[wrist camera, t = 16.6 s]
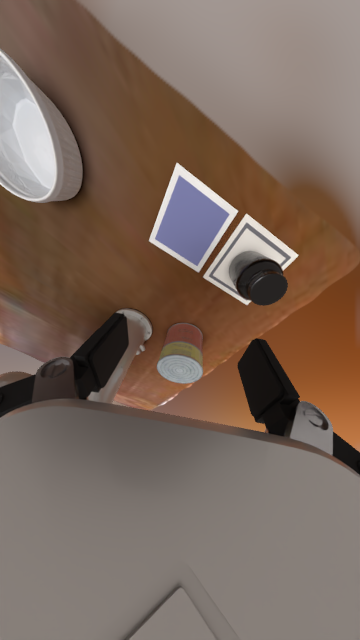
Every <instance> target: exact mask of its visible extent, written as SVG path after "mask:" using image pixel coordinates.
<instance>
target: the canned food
mask: <svg viewBox="0 0 360 640" xmlns="http://www.w3.org/2000/svg"><path fill="white" fill-rule="evenodd" d="M202 340H203V335H202V333H201V331H200V330H199V329H198V328H197V327H196V326H194V325H192V324H188V323H178V324H175V325H173V326H171V327H170V328H169V330H168V332H167V336H166V339H165V342H164V345H163V349H162V352H161V355H160V358H159V361H158V363H157V370H158V372H159V373H160V374H161V375H162V376H163V377H164V378H166V379H168V380H170V381H173V382H176V383H192V382H195V381H197V380H199V379H200V378H201V376H202V374H203V369H202Z"/></svg>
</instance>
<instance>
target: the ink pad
mask: <svg viewBox="0 0 360 640" xmlns="http://www.w3.org/2000/svg"><path fill="white" fill-rule="evenodd" d="M237 212H238V211H237V210H236V209H235V208H233V207H232V206H231V205H230V204H228V203H227V202H226V201H225V200H223V199H222V198H221V197H220V196H218V195H217V194H216V193H215V192H213V191H212V190H211V189H210V188H208V187H207V186H206V185H204V184H203V183H202V182H201V181H199V180H198V179H197V178H196V177H194V176H193V175H192V174H191V173H189V172H188V171H187V170H186V169H184V168H183V167H182V166H181V165H179V164H178V163H177V164H176V166H175V169H174V172H173V175H172V178H171V180H170V183H169V186H168V189H167V192H166V194H165V197H164V200H163V203H162V206H161V208H160V211H159V214H158V217H157V220H156V222H155V225H154V228H153V231H152V234H151V236H150V239H149V241H150V242H151V243H153V244H154V245H156V246H157V247H159V248H161V249H162V250H164V251H165V252H167V253H169V254H170V255H172V256H173V257H175V258H176V259H178V260H180V261H181V262H183V263H184V264H186V265H187V266H189V267H191V268H192V269H194V270H195V271H197V272H198V273H199V271H200V269H201V268H202V266H203V265H204V263H205V262H206V260H207V259H208V257H209V256H210V254H211V253H212V251H213V249H214V248H215V246H216V245H217V243H218V242H219V240H220V239H221V237H222V236H223V234H224V233H225V231H226V229H227V228H228V226H229V225H230V223H231V222H232V220H233V219H234V217H235V216H236V214H237Z"/></svg>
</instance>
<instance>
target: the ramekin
mask: <svg viewBox="0 0 360 640" xmlns="http://www.w3.org/2000/svg"><path fill="white" fill-rule="evenodd" d="M82 178H83V169H82V161H81V156H80V151H79V148H78V145H77V142H76V140H75V138H74V135H73V133H72V131H71V129H70V127H69V125H68V124H67V122H66V120H65V119H64V117H63V116H62V114H61V113H60V111H59V110H58V109H57V108H56V106H55V105H54V104H53V102H52V101H51V100H50V99H49V98H48V97H47V96H46V95H45V94H44V93H43V92H42V91H41V90H40V89H39V88H38V87H37V86H36V85H35V84H34V83H33V82H32V81H31V80H30V79H29V78H28V77H27V76H26V74H25V73H24V72H23V71H22V69H21V68H20V67H19V66H18V65H17V64H16V63H15V61H14V60H13V59H12V58H11V57H9V56H8V55H7V54H6V53H5V52H4V51H3V50H2V49H1V48H0V184H1V185H2V186H3V187H4V188H6V189H7V190H8V191H10V192H11V193H13V194H14V195H16V196H18V197H20V198H23V199H25V200H28V201H33V202H39V203H46V202H50V201H63V200H68V199H71V198H72V197H74V196H75V195H76V194H77V193H78V191H79V189H80V187H81V183H82Z"/></svg>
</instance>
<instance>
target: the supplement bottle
mask: <svg viewBox="0 0 360 640" xmlns="http://www.w3.org/2000/svg"><path fill="white" fill-rule="evenodd" d="M229 277H230V279H231V281H232V282H233V284H234V286H235V288H236V290H237V291H238V293H239V294H240V295H241V296H242V297H243V298H245V299H247V300H251V301H252V302H254V303H255V304H257V305H263V306H264V305H269V304H272V303H275V302H276V301H278V300H279V299H281V297H283V296H284V294H285V293H286V290H287V287H288V286H287V285H288V283H287V280H286V278H285V277H284V276H283V270H282V267H281V266H280V265H279V263H277V262H276V261H274V260H272V259H270V258H268V257H266V256H264V255H262V254H260V253H258V252H255V251H245V252H242V253H240V254H239V255H237V256H236V257H235V258H234V259H233V260H232V262H231V264H230V266H229Z"/></svg>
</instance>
